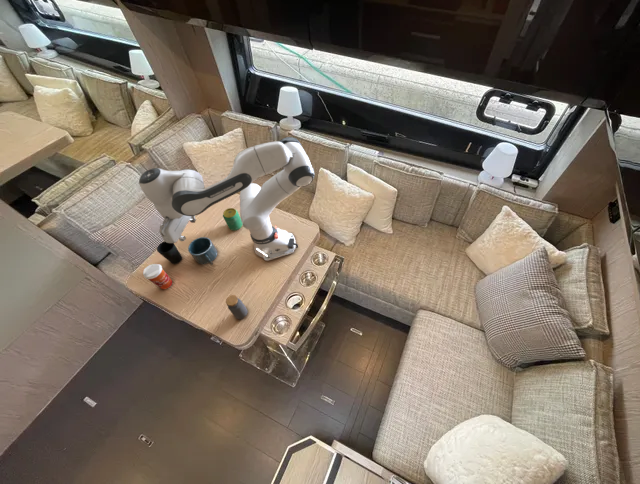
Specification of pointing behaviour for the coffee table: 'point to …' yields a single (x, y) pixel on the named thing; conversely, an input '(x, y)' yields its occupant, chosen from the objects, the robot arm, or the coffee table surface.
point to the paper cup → (157, 276)
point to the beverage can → (232, 219)
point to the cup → (169, 252)
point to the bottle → (236, 307)
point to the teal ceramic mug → (203, 250)
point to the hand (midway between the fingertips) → (188, 230)
